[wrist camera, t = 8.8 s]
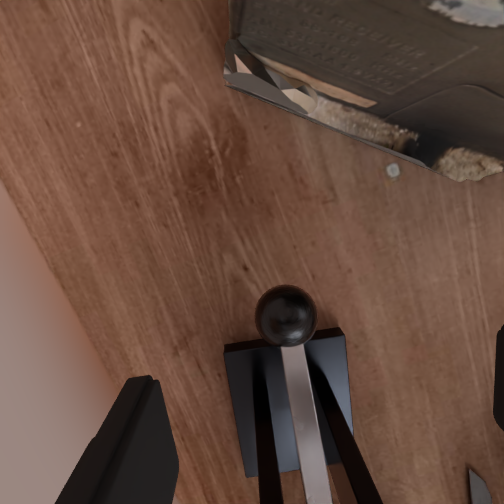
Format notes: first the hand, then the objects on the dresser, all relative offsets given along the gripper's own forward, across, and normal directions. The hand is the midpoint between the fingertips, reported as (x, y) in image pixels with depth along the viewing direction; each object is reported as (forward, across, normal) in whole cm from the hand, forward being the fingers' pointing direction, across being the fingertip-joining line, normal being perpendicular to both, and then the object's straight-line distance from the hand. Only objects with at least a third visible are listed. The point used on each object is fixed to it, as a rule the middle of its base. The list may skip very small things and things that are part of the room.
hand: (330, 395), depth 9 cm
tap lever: (+6, 0, +6) cm, 9 cm away
